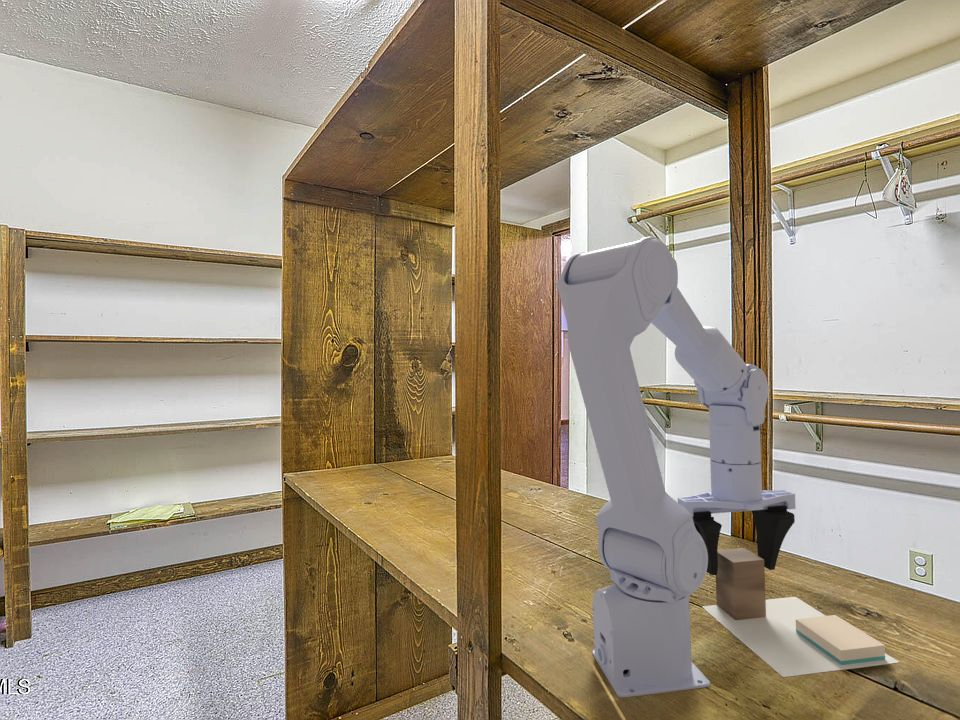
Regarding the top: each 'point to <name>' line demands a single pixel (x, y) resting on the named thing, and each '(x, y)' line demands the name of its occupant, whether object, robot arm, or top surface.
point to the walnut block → (741, 584)
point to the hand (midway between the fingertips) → (738, 569)
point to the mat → (785, 638)
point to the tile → (840, 639)
